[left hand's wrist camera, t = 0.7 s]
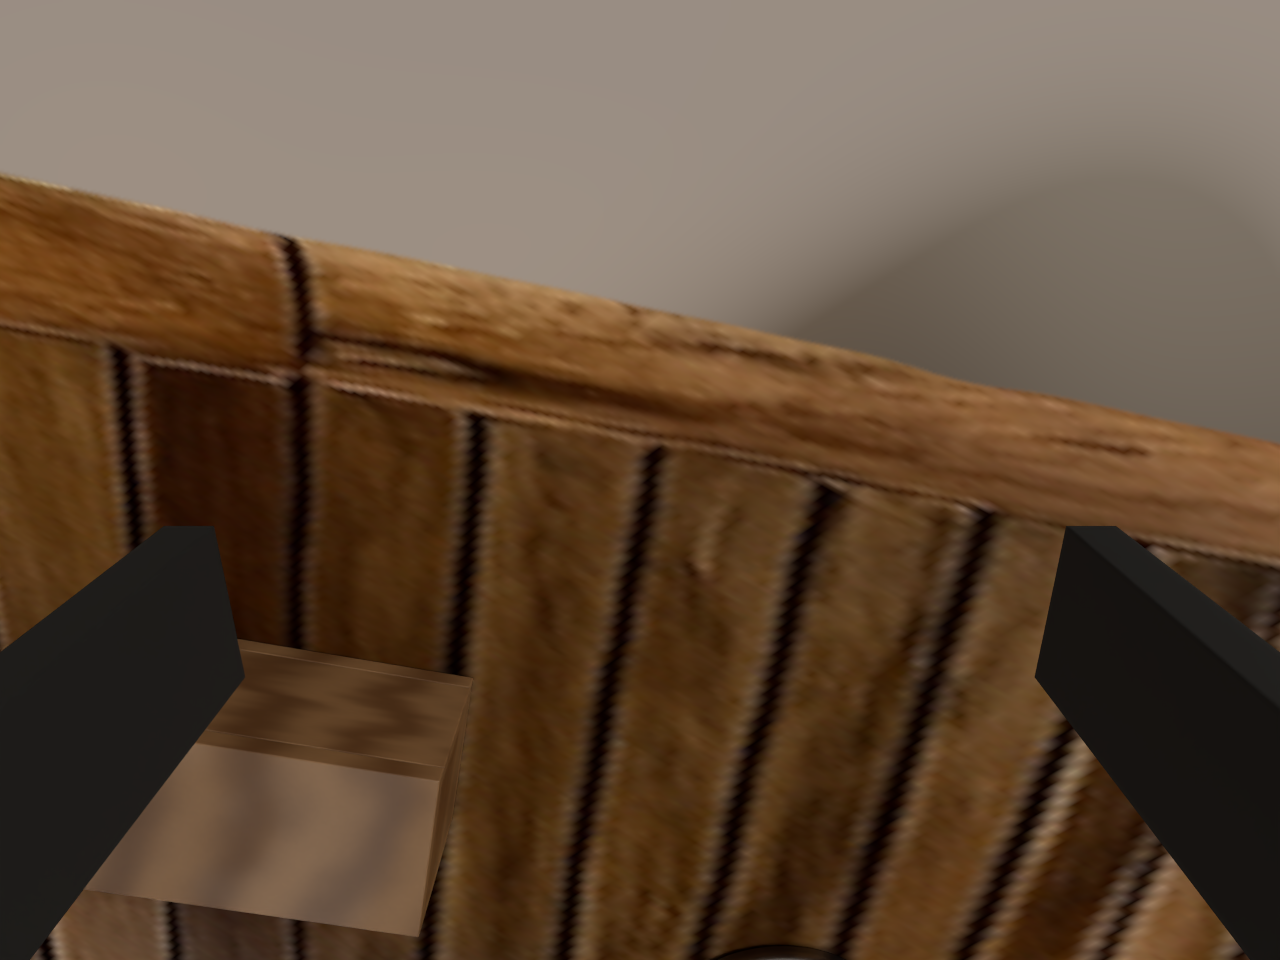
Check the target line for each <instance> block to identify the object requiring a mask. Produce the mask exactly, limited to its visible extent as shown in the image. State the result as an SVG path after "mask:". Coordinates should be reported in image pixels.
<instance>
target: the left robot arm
mask: <svg viewBox="0 0 1280 960" xmlns="http://www.w3.org/2000/svg"><path fill="white" fill-rule="evenodd" d="M244 678H245V673H244V669H243V664H242V659H241V654H240V649H239V645H238V640H237V635H236V630H235V625H234V621H233V616H232V611H231V606H230V601H229V597H228V592H227V587H226V582H225V578H224V573H223V568H222V563H221V558H220V554H219V549H218V544H217V539H216V534H215V530H214V526H164V527H162V528H161V529H160V530H158V531H157V532H156V533H155V534H153V535H152V536H151V537H149V538H148V539H147V540H145V541H144V542H143V543H142V544H140V545H139V546H138V547H136V548H135V549H134V550H132V551H131V552H130V553H129V554H127V555H126V556H125V557H123V558H122V559H121V560H119V561H118V562H117V563H116V564H114V565H113V566H112V567H110V568H109V569H108V570H107V571H105V572H104V573H103V574H101V575H100V576H99V577H97V578H96V579H95V580H94V581H92V582H91V583H90V584H88V585H87V586H86V587H84V588H83V589H82V590H81V591H79V592H78V593H77V594H75V595H74V596H73V597H71V598H70V599H69V600H68V601H66V602H65V603H64V604H62V605H61V606H60V607H59V608H57V609H56V610H55V611H53V612H52V613H51V614H49V615H48V616H47V617H46V618H44V619H43V620H42V621H40V622H39V623H38V624H36V625H35V626H34V627H33V628H31V629H30V630H29V631H27V632H26V633H25V634H23V635H22V636H21V637H20V638H18V639H17V640H16V641H14V642H13V643H12V644H10V645H9V646H8V647H7V648H5V649H4V650H3V651H1V652H0V960H30V959H31V958H32V956H33V955H34V954H35V952H36V951H37V950H38V948H39V947H40V946H41V944H42V943H43V942H44V941H45V939H46V938H47V937H48V935H49V934H50V933H51V931H52V930H53V929H54V927H55V926H56V925H57V924H58V922H59V921H60V920H61V918H62V917H63V916H64V914H65V913H66V912H67V910H68V909H69V908H70V906H71V905H72V904H73V903H74V901H75V900H76V899H77V897H78V896H79V895H80V893H81V892H82V891H83V889H84V888H85V887H86V885H87V884H88V883H89V882H90V880H91V879H92V878H93V876H94V875H95V874H96V872H97V871H98V870H99V868H100V867H101V866H102V864H103V863H104V862H105V861H106V859H107V858H108V857H109V855H110V854H111V853H112V851H113V850H114V849H115V847H116V846H117V845H118V843H119V842H120V841H121V840H122V838H123V837H124V836H125V834H126V833H127V832H128V830H129V829H130V828H131V826H132V825H133V824H134V822H135V821H136V820H137V819H138V817H139V816H140V815H141V813H142V812H143V811H144V809H145V808H146V807H147V805H148V804H149V803H150V801H151V800H152V799H153V798H154V796H155V795H156V794H157V792H158V791H159V790H160V788H161V787H162V786H163V784H164V783H165V782H166V781H167V779H168V778H169V777H170V775H171V774H172V773H173V771H174V770H175V769H176V767H177V766H178V765H179V763H180V762H181V761H182V760H183V758H184V757H185V756H186V754H187V753H188V752H189V750H190V749H191V748H192V746H193V745H194V744H195V742H196V741H197V740H198V739H199V737H200V736H201V735H202V733H203V732H204V731H205V729H206V728H207V727H208V725H209V724H210V723H211V721H212V720H213V719H214V718H215V716H216V715H217V714H218V712H219V711H220V710H221V708H222V707H223V706H224V704H225V703H226V702H227V700H228V699H229V698H230V697H231V695H232V694H233V693H234V691H235V690H236V689H237V687H238V686H239V685H240V683H241V682H242V681H243V679H244ZM1035 678H1036V679H1037V681H1038V682H1039V683H1040V685H1041V686H1042V687H1043V689H1044V690H1045V691H1046V693H1047V694H1048V695H1049V697H1050V698H1051V699H1052V700H1053V702H1054V703H1055V704H1056V706H1057V707H1058V708H1059V710H1060V711H1061V712H1062V714H1063V715H1064V716H1065V718H1066V719H1067V720H1068V721H1069V723H1070V724H1071V725H1072V727H1073V728H1074V729H1075V731H1076V732H1077V733H1078V735H1079V736H1080V737H1081V739H1082V740H1083V741H1084V742H1085V744H1086V745H1087V746H1088V748H1089V749H1090V750H1091V752H1092V753H1093V754H1094V756H1095V757H1096V758H1097V760H1098V761H1099V762H1100V763H1101V765H1102V766H1103V767H1104V769H1105V770H1106V771H1107V773H1108V774H1109V775H1110V777H1111V778H1112V779H1113V781H1114V782H1115V783H1116V784H1117V786H1118V787H1119V788H1120V790H1121V791H1122V792H1123V794H1124V795H1125V796H1126V798H1127V799H1128V800H1129V801H1130V803H1131V804H1132V805H1133V807H1134V808H1135V809H1136V811H1137V812H1138V813H1139V815H1140V816H1141V817H1142V819H1143V820H1144V821H1145V822H1146V824H1147V825H1148V826H1149V828H1150V829H1151V830H1152V832H1153V833H1154V834H1155V836H1156V837H1157V838H1158V840H1159V841H1160V842H1161V843H1162V845H1163V846H1164V847H1165V849H1166V850H1167V851H1168V853H1169V854H1170V855H1171V857H1172V858H1173V859H1174V861H1175V862H1176V863H1177V864H1178V866H1179V867H1180V868H1181V870H1182V871H1183V872H1184V874H1185V875H1186V876H1187V878H1188V879H1189V880H1190V882H1191V883H1192V884H1193V885H1194V887H1195V888H1196V889H1197V891H1198V892H1199V893H1200V895H1201V896H1202V897H1203V899H1204V900H1205V901H1206V903H1207V904H1208V905H1209V906H1210V908H1211V909H1212V910H1213V912H1214V913H1215V914H1216V916H1217V917H1218V918H1219V920H1220V921H1221V922H1222V924H1223V925H1224V926H1225V927H1226V929H1227V930H1228V931H1229V933H1230V934H1231V935H1232V937H1233V938H1234V939H1235V941H1236V942H1237V943H1238V944H1239V946H1240V947H1241V948H1242V950H1243V951H1244V952H1245V954H1246V955H1247V956H1248V958H1249V959H1250V960H1280V652H1279V651H1277V650H1276V649H1275V648H1273V647H1272V646H1271V645H1269V644H1268V643H1267V642H1266V641H1264V640H1263V639H1262V638H1260V637H1259V636H1258V635H1257V634H1255V633H1254V632H1253V631H1251V630H1250V629H1249V628H1247V627H1246V626H1245V625H1244V624H1242V623H1241V622H1240V621H1238V620H1237V619H1236V618H1234V617H1233V616H1232V615H1231V614H1229V613H1228V612H1227V611H1225V610H1224V609H1223V608H1221V607H1220V606H1219V605H1218V604H1216V603H1215V602H1214V601H1212V600H1211V599H1210V598H1209V597H1207V596H1206V595H1205V594H1203V593H1202V592H1201V591H1199V590H1198V589H1197V588H1196V587H1194V586H1193V585H1192V584H1190V583H1189V582H1188V581H1186V580H1185V579H1184V578H1183V577H1181V576H1180V575H1179V574H1177V573H1176V572H1175V571H1173V570H1172V569H1171V568H1170V567H1168V566H1167V565H1166V564H1164V563H1163V562H1162V561H1161V560H1159V559H1158V558H1157V557H1155V556H1154V555H1153V554H1151V553H1150V552H1149V551H1148V550H1146V549H1145V548H1144V547H1142V546H1141V545H1140V544H1138V543H1137V542H1136V541H1135V540H1133V539H1132V538H1131V537H1129V536H1128V535H1127V534H1125V533H1124V532H1123V531H1122V530H1120V529H1119V528H1118V527H1116V526H1066V530H1065V534H1064V539H1063V544H1062V549H1061V554H1060V558H1059V563H1058V568H1057V573H1056V578H1055V582H1054V587H1053V592H1052V597H1051V601H1050V606H1049V611H1048V616H1047V621H1046V625H1045V630H1044V635H1043V640H1042V645H1041V649H1040V654H1039V659H1038V664H1037V669H1036V673H1035ZM718 960H846V959H843V958H841V957H839V956H836V955H834V954H831V953H828V952H824V951H821V950H816V949H811V948H805V947H796V946H770V947H760V948H754V949H749V950H745V951H741V952H737V953H734V954H731V955H728V956H725V957H723V958H720V959H718Z"/></svg>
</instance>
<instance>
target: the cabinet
mask: <svg viewBox="0 0 1280 960" xmlns="http://www.w3.org/2000/svg"><path fill="white" fill-rule="evenodd" d="M237 640H238V645H239V649H240V654H241V659H242V664H243V669H244V673H245V678H244V679H243V681H242V682H241V683H240V685H239V686H238V687H237V689H236V690H235V691H234V693H233V694H232V695H231V697H230V698H229V699H228V700H227V702H226V703H225V704H224V706H223V707H222V708H221V710H220V711H219V712H218V714H217V715H216V716H215V718H214V719H213V720H212V721H211V723H210V724H209V725H208V727H207V728H206V729H205V731H204V732H203V733H202V735H201V736H200V737H199V739H198V740H197V741H196V742H195V744H194V745H193V746H192V748H191V749H190V750H189V752H188V753H187V754H186V756H185V757H184V758H183V760H182V761H181V762H180V763H179V765H178V766H177V767H176V769H175V770H174V771H173V773H172V774H171V775H170V777H169V778H168V779H167V781H166V782H165V783H164V784H163V786H162V787H161V788H160V790H159V791H158V792H157V794H156V795H155V796H154V798H153V799H152V800H151V801H150V803H149V804H148V805H147V807H146V808H145V809H144V811H143V812H142V813H141V815H140V816H139V817H138V819H137V820H136V821H135V822H134V824H133V825H132V826H131V828H130V829H129V830H128V832H127V833H126V834H125V836H124V837H123V838H122V840H121V841H120V842H119V843H118V845H117V846H116V847H115V849H114V850H113V851H112V853H111V854H110V855H109V857H108V858H107V859H106V861H105V862H104V863H103V864H102V866H101V867H100V868H99V870H98V871H97V872H96V874H95V875H94V876H93V878H92V879H91V880H90V882H89V883H88V884H87V885H86V887H85V888H84V889H86V890H93V891H100V892H107V893H114V894H121V895H128V896H135V897H142V898H149V899H156V900H163V901H170V902H177V903H184V904H191V905H198V906H205V907H212V908H219V909H226V910H233V911H239V912H246V913H253V914H260V915H267V916H274V917H281V918H288V919H295V920H302V921H309V922H316V923H323V924H330V925H337V926H344V927H351V928H358V929H365V930H372V931H379V932H386V933H393V934H400V935H407V936H414V937H418V936H419V934H420V930H421V927H422V923H423V920H424V916H425V913H426V909H427V906H428V902H429V899H430V895H431V892H432V888H433V885H434V881H435V878H436V874H437V871H438V867H439V864H440V860H441V857H442V853H443V850H444V846H445V843H446V839H447V836H448V832H449V828H450V825H451V821H452V818H453V812H454V805H455V798H456V792H457V785H458V778H459V771H460V765H461V758H462V751H463V744H464V737H465V731H466V724H467V717H468V710H469V704H470V697H471V690H472V683H473V678H470V677H464V676H458V675H452V674H446V673H440V672H434V671H428V670H422V669H416V668H410V667H404V666H398V665H392V664H386V663H380V662H374V661H368V660H362V659H356V658H350V657H344V656H338V655H332V654H326V653H320V652H314V651H308V650H302V649H296V648H290V647H283V646H277V645H271V644H265V643H259V642H253V641H247V640H241V639H237Z"/></svg>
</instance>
